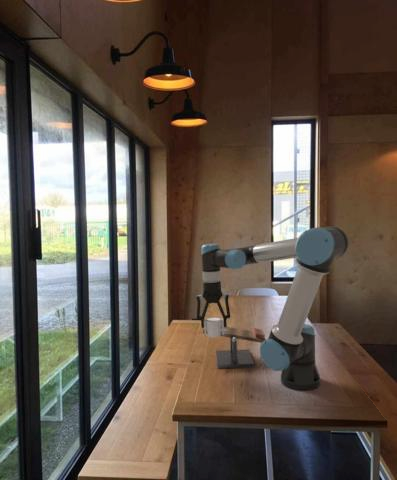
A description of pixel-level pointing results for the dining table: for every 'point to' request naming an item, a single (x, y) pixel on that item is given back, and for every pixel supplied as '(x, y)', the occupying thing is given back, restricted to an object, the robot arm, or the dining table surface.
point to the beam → (243, 334)
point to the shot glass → (213, 327)
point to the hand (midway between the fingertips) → (214, 334)
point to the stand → (234, 357)
